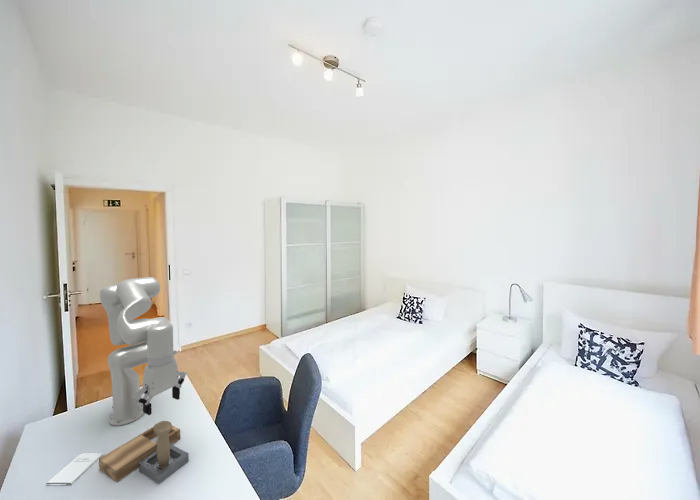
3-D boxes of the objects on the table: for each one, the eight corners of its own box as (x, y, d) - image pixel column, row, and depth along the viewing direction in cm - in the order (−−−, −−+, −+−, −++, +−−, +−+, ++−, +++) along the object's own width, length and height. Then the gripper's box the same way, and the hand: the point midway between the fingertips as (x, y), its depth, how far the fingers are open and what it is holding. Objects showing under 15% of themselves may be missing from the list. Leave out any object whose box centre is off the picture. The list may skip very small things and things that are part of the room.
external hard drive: (46, 487, 94) (80, 456, 106) (71, 487, 94) (103, 456, 106) (45, 482, 93) (80, 452, 106) (71, 482, 94) (102, 452, 106)
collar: (138, 470, 100) (138, 462, 99) (168, 450, 109) (168, 442, 109) (159, 484, 95) (158, 475, 95) (188, 461, 104) (188, 453, 104)
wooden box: (99, 469, 100) (98, 458, 100) (163, 429, 120) (163, 420, 119) (116, 482, 95) (116, 470, 95) (180, 438, 115) (180, 429, 115)
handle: (162, 474, 98) (160, 433, 97) (151, 466, 101) (150, 427, 100) (176, 464, 103) (175, 425, 102) (165, 457, 106) (164, 419, 104)
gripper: (178, 347, 109) (179, 390, 110) (126, 367, 93) (128, 417, 94) (191, 351, 105) (192, 395, 107) (140, 372, 90) (142, 424, 91)
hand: (162, 405), depth 101 cm, fingers open, 9 cm apart
